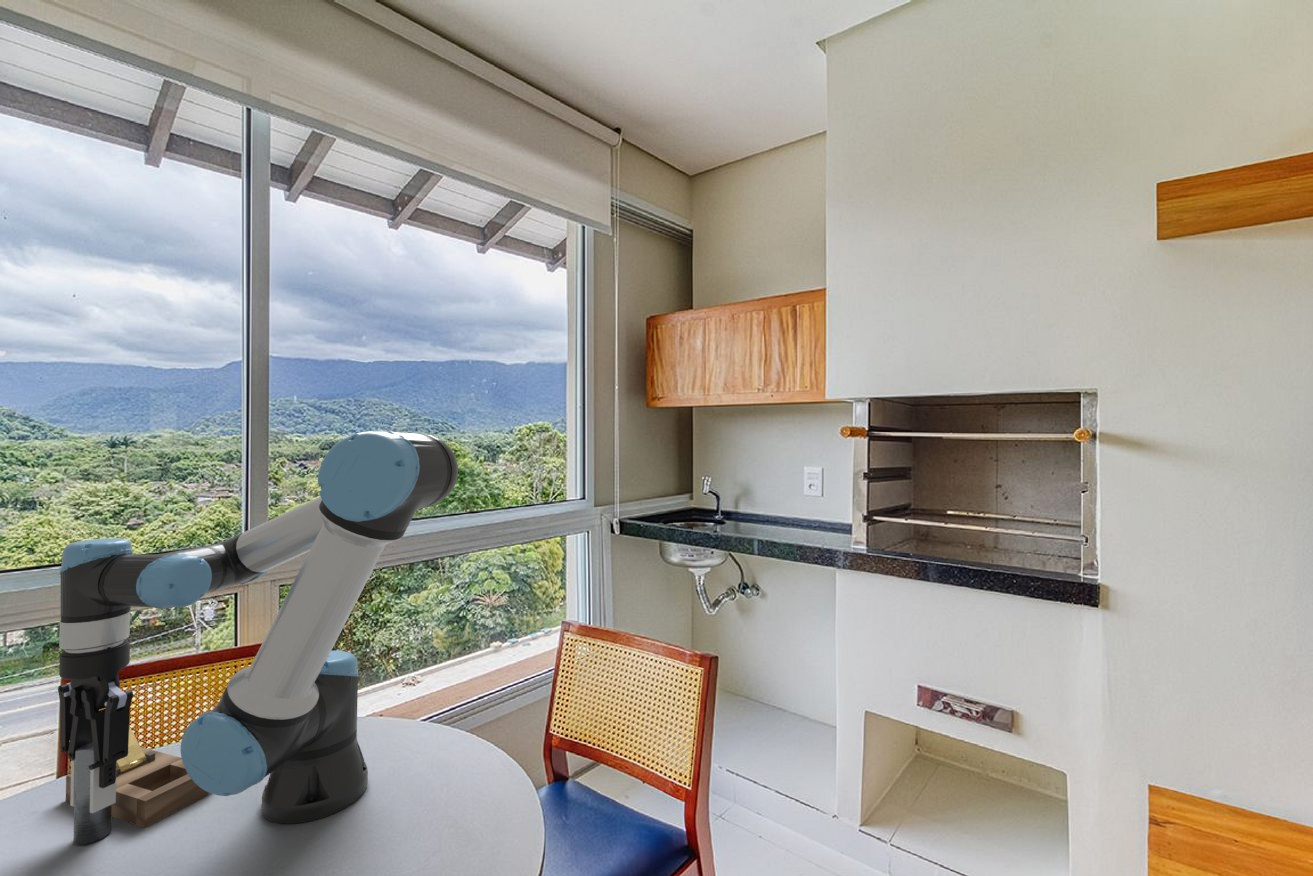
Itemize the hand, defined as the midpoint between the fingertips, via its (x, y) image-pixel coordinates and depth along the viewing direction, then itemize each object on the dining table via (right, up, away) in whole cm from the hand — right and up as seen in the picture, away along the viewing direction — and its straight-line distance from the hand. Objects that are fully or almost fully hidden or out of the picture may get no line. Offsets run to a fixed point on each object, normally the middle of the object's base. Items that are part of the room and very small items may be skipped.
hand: (93, 803), depth 86 cm
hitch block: (-2, -5, +10) cm, 11 cm away
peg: (0, -5, 0) cm, 5 cm away
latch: (-7, +1, +12) cm, 14 cm away
